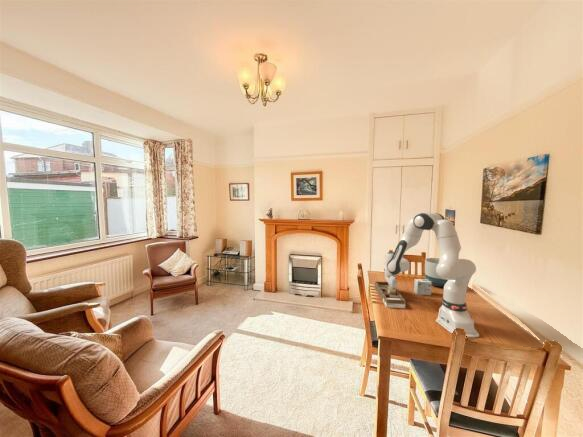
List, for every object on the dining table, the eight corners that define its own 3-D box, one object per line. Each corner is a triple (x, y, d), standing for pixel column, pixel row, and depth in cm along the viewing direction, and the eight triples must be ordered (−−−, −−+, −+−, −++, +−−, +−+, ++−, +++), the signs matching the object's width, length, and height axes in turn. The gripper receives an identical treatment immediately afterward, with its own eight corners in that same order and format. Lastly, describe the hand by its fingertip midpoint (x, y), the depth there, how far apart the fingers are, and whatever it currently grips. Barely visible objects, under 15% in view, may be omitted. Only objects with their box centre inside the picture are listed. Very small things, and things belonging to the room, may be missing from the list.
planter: (446, 292, 186) (448, 266, 184) (420, 284, 202) (421, 260, 200) (455, 285, 199) (456, 261, 197) (429, 279, 215) (430, 256, 213)
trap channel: (405, 308, 160) (405, 300, 160) (386, 307, 162) (386, 299, 161) (390, 288, 195) (390, 282, 194) (374, 287, 196) (375, 281, 196)
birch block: (395, 294, 175) (396, 289, 175) (389, 294, 176) (389, 289, 175) (393, 291, 180) (394, 286, 180) (387, 291, 181) (387, 286, 180)
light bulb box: (427, 291, 187) (428, 278, 186) (431, 295, 181) (432, 282, 180) (413, 291, 188) (414, 278, 187) (417, 294, 182) (417, 281, 181)
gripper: (399, 277, 170) (398, 295, 172) (391, 268, 191) (390, 284, 192) (390, 276, 171) (389, 294, 173) (383, 268, 191) (382, 284, 193)
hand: (390, 289), depth 182 cm, fingers closed
